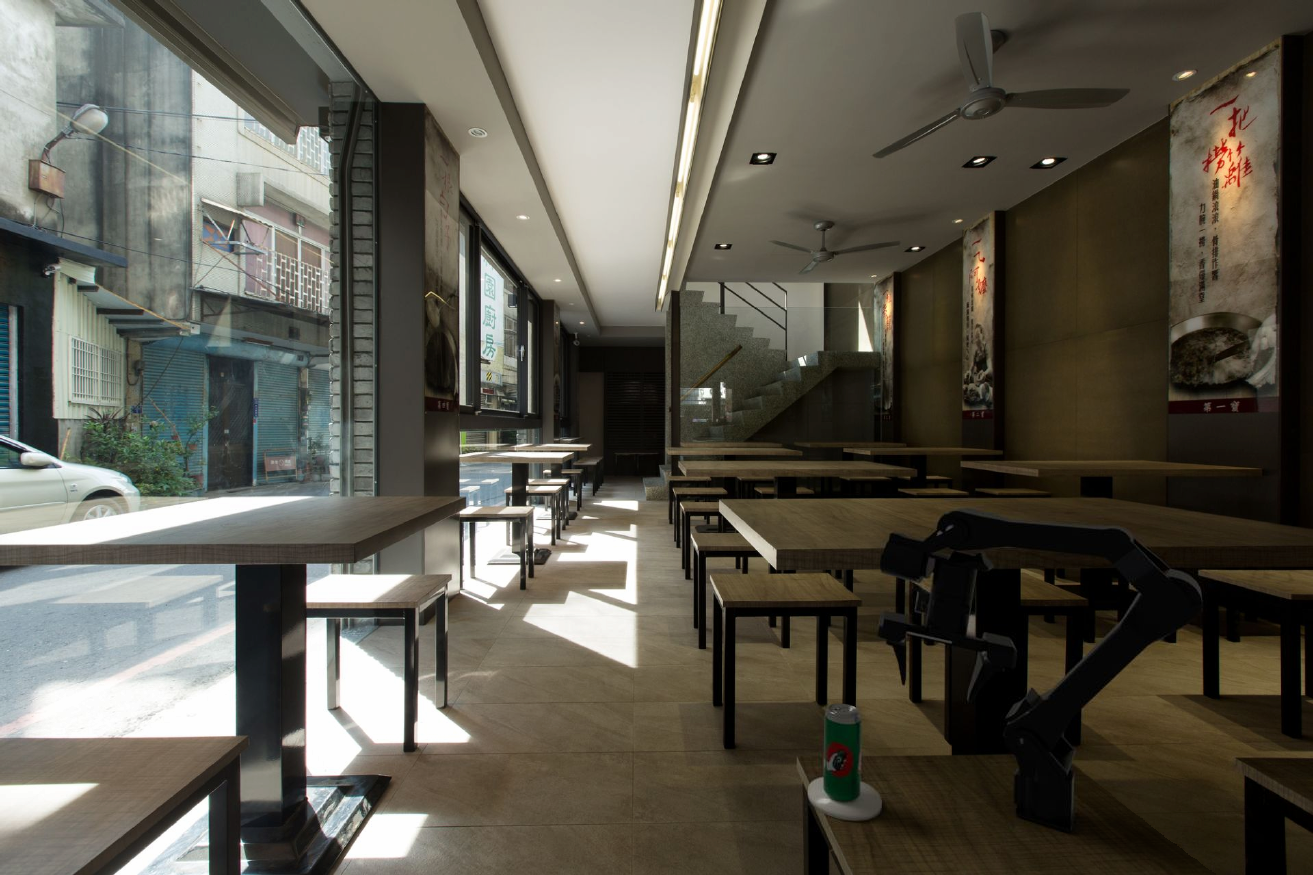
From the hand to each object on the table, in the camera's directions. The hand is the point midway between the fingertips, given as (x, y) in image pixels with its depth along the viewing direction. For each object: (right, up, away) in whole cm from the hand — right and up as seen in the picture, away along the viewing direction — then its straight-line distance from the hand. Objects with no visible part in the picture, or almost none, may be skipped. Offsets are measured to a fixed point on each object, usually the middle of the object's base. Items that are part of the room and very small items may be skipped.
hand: (935, 692), depth 100 cm
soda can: (-16, -12, -6) cm, 21 cm away
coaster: (-16, -13, -6) cm, 21 cm away
